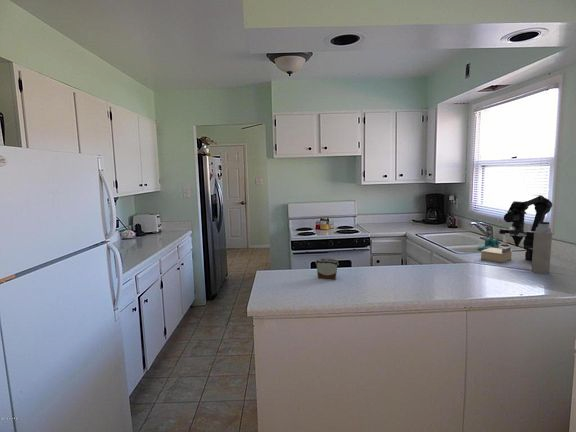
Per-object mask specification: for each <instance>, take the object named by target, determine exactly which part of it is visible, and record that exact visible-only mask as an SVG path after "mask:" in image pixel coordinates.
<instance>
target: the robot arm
mask: <svg viewBox="0 0 576 432" xmlns="http://www.w3.org/2000/svg"><path fill="white" fill-rule="evenodd" d="M532 205H533V206H534V210H535V216H534V219H533V223H532V225H531V229H530V230H528V231H525V224H526V223H525V215H527V212H526V211H527V210H528V209H529V207H530V206H532ZM552 207H553V202H552V201H551V200H550V199H549V198H547V197H544V196H543V195H542V194H532V196H529V197H526V198H525V199H521V200H518V199H517V200H514V201H512V203H511V205H510V207H509V209H508V210H507V213H505V214H504V215H503V220H504V221H505V222H506V223H511V226H510V227H509V228H500V229H499V231H498V233H499V234H500V235H506V234H509V237H511V238H512V240H513V243H514V245H515V247H516V248H518V247H519V246H520V244H521V242H522V240H523V239H524V240H523V243H522V244H523V249H524V250H526V251H525V255H524V260H526V261H527V260H528V261H532V255H533V241H534V231H536V227H538V224H539V223H538V222H545V217H546V215H547V214H548V213H549V212H550V211H551V209H552Z"/></svg>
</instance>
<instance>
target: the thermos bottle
mask: <svg viewBox="0 0 576 432" xmlns="http://www.w3.org/2000/svg"><path fill="white" fill-rule="evenodd" d="M538 223H539V224H538V227H536V231H534V241H533V255H532V260H531V272H534V273H538V274H549V273H550V268H551V267H550V266H551V265H550V264H551V255H552V254H551V253H552V241H553V240H552V239H553V232H552V228H551V227H550V222H548V221H543V222H538Z"/></svg>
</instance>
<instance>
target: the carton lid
mask: <svg viewBox="0 0 576 432" xmlns="http://www.w3.org/2000/svg"><path fill="white" fill-rule="evenodd" d="M481 252H487V253H493V254H500V255H504V254H506V253H509V252H513V250H512V247H511V246H507V247H502V248H488V249H485V250H482V251H480V253H481Z"/></svg>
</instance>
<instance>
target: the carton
mask: <svg viewBox="0 0 576 432" xmlns="http://www.w3.org/2000/svg"><path fill="white" fill-rule="evenodd" d="M512 252H513V251H512ZM512 252H509V253H506V254H504V255H500V254H493V253H487V252H481V251H480V253H481V254H480V260H482V261H486V262H487V261H488V262H491V263H498V264H503V263H506V262H508V261H511V260H512V255H513V253H512Z"/></svg>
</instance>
